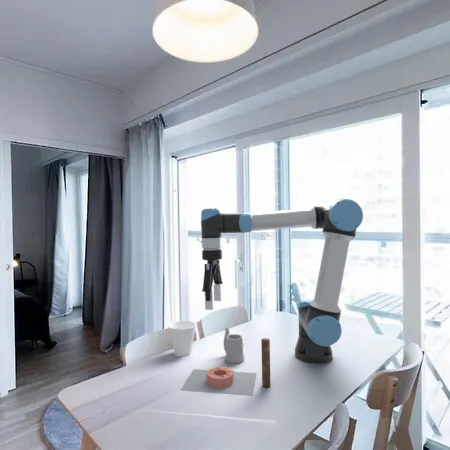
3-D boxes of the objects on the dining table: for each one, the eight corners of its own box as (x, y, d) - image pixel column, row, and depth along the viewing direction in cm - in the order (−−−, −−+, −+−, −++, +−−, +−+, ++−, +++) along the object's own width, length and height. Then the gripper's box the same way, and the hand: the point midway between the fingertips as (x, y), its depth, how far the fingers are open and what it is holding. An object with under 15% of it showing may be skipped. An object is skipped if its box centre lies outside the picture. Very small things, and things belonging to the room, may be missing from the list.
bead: (235, 376, 117) (234, 367, 117) (231, 388, 108) (230, 379, 108) (210, 374, 119) (210, 366, 119) (204, 386, 110) (204, 377, 110)
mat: (256, 374, 119) (256, 373, 119) (252, 396, 103) (252, 395, 103) (193, 370, 123) (193, 369, 123) (180, 391, 108) (180, 390, 108)
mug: (232, 366, 126) (231, 335, 126) (216, 356, 136) (216, 327, 136) (248, 362, 130) (247, 332, 130) (232, 352, 140) (231, 324, 140)
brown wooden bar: (270, 385, 111) (269, 338, 111) (270, 389, 108) (269, 341, 108) (262, 384, 111) (261, 338, 111) (261, 388, 109) (261, 340, 109)
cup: (178, 361, 131) (178, 331, 132) (163, 353, 140) (163, 324, 140) (202, 353, 139) (201, 324, 139) (186, 346, 148) (186, 319, 148)
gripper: (210, 247, 137) (211, 297, 136) (192, 252, 112) (194, 313, 112) (227, 246, 135) (229, 297, 135) (213, 251, 111) (215, 314, 110)
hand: (213, 305), depth 123 cm, fingers open, 13 cm apart
